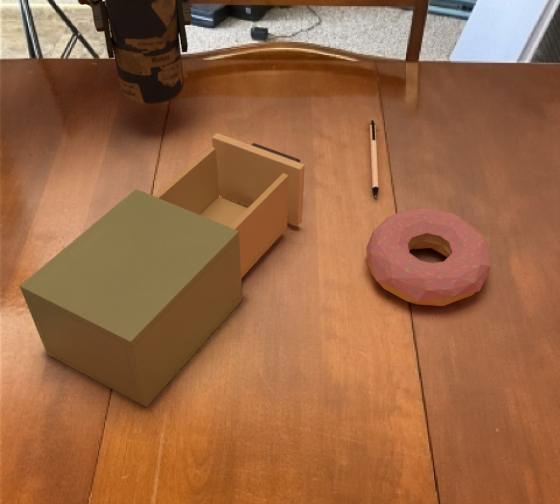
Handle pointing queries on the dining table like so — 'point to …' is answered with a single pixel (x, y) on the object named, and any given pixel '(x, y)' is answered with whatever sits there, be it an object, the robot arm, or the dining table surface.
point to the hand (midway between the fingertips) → (148, 51)
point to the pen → (374, 158)
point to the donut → (422, 275)
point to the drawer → (242, 192)
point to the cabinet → (137, 294)
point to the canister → (146, 48)
